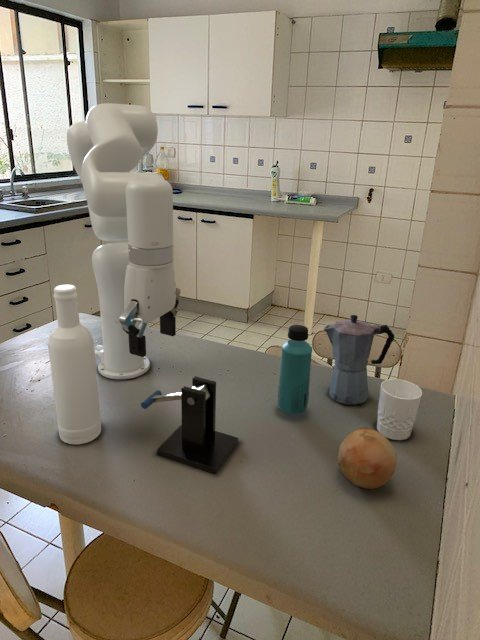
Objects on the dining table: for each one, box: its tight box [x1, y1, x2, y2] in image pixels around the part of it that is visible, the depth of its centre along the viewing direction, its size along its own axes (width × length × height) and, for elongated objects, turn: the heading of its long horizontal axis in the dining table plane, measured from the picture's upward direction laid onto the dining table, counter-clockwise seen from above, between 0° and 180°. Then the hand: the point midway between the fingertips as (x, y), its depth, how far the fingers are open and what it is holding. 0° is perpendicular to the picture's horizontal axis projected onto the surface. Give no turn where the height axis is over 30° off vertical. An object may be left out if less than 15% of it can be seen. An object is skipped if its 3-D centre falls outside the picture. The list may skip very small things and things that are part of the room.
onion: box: [337, 426, 398, 490], centre depth 79 cm, size 10×10×10 cm
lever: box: [140, 384, 210, 410], centre depth 86 cm, size 13×5×2 cm, turn 66°
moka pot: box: [322, 314, 395, 405], centre depth 104 cm, size 10×15×20 cm, turn 88°
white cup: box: [376, 378, 423, 441], centre depth 93 cm, size 8×8×10 cm
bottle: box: [47, 283, 102, 445], centre depth 85 cm, size 8×8×30 cm
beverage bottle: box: [277, 324, 313, 415], centre depth 97 cm, size 6×7×20 cm
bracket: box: [156, 376, 239, 475], centre depth 85 cm, size 12×10×14 cm
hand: (153, 344), depth 86 cm, fingers open, 9 cm apart
